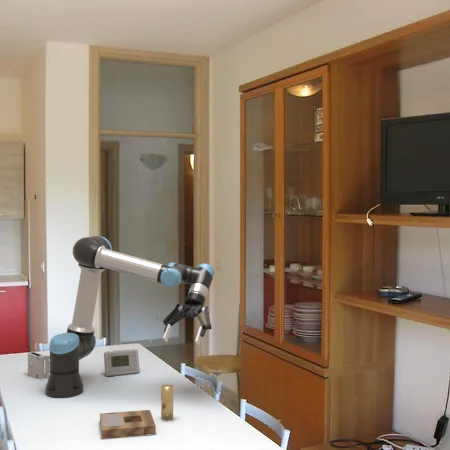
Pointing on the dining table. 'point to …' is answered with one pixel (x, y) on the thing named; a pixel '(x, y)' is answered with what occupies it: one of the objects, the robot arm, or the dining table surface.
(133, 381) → the dining table surface
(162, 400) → the pin
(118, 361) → the digital clock
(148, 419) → the brown block with recess
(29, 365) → the grey slotted box
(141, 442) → the dining table surface
